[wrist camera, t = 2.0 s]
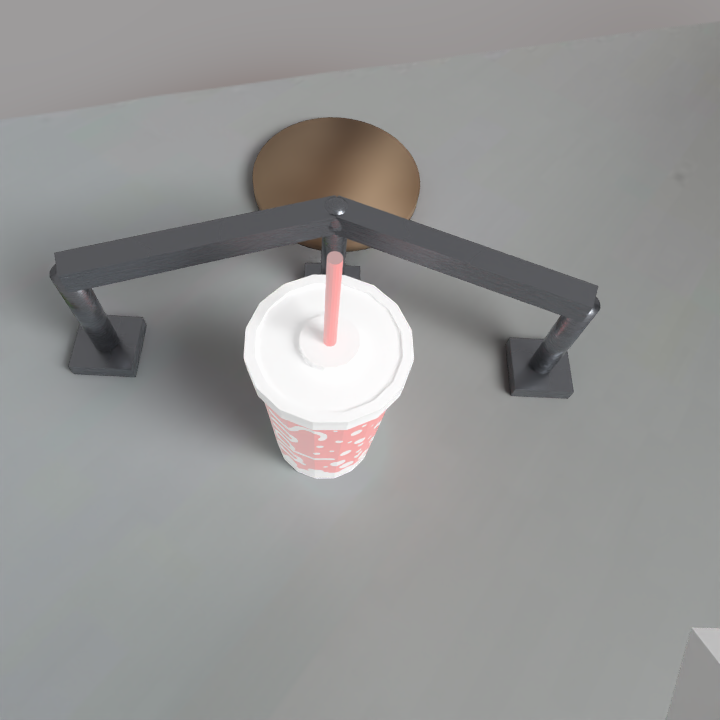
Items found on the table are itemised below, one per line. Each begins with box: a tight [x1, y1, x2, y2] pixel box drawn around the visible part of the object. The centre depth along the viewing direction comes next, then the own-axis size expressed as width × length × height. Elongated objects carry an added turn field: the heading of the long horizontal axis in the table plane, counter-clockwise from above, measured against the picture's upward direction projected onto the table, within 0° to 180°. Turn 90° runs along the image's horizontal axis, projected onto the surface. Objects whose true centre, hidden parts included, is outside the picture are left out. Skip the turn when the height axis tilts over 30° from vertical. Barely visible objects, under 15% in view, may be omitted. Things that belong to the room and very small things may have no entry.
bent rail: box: [50, 195, 600, 399], centre depth 29 cm, size 25×7×7 cm, turn 89°
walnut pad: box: [253, 117, 420, 252], centre depth 37 cm, size 10×10×1 cm
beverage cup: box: [244, 251, 414, 478], centre depth 23 cm, size 6×6×14 cm
